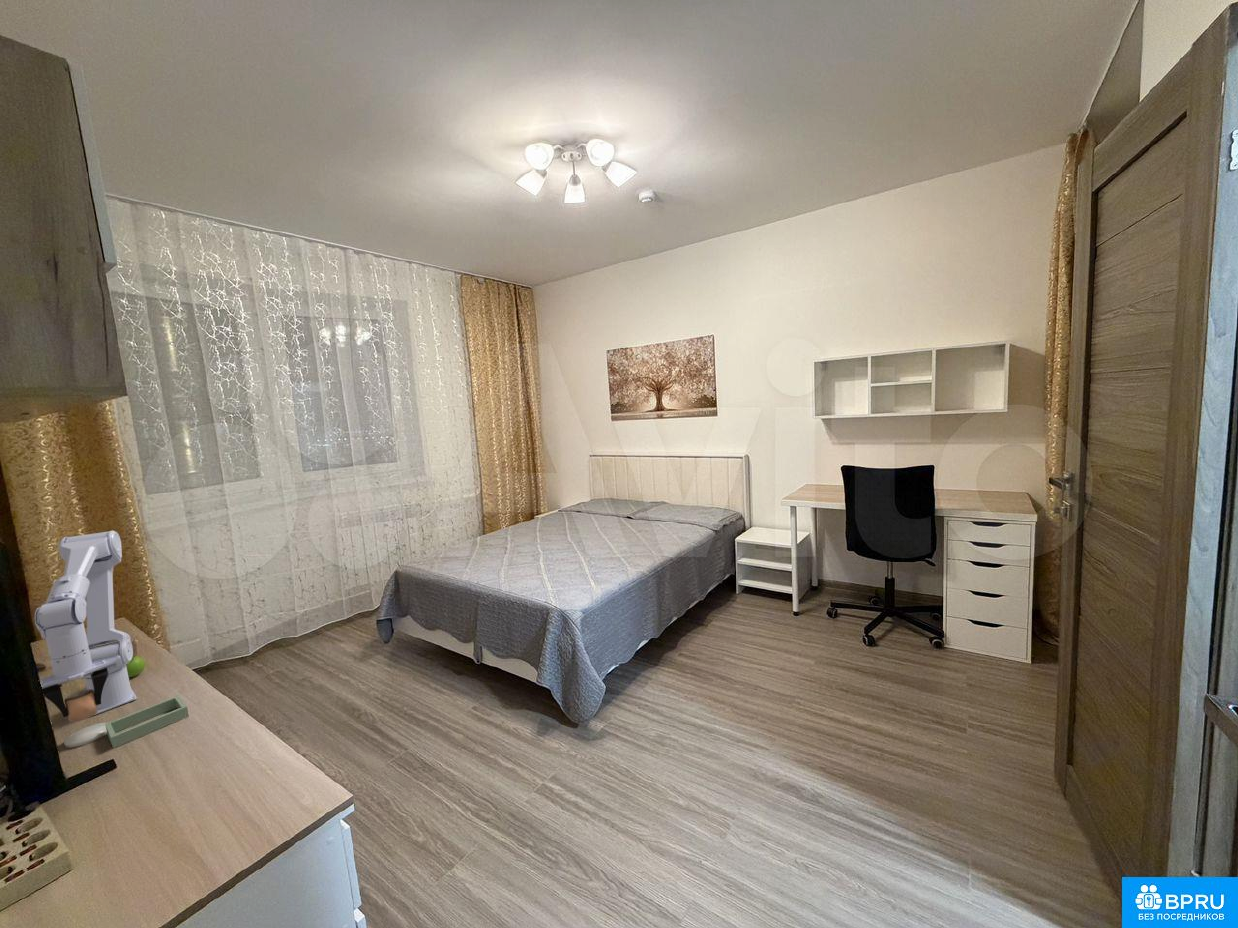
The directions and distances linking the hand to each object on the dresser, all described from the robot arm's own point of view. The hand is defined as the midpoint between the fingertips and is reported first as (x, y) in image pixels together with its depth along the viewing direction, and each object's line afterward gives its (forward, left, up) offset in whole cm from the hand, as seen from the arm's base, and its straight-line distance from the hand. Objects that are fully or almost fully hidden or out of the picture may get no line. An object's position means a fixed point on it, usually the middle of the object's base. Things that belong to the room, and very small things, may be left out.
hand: (82, 709), depth 108 cm
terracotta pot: (0, 0, -2) cm, 2 cm away
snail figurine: (-29, +12, -7) cm, 32 cm away
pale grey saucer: (0, 0, -7) cm, 7 cm away
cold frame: (+7, +9, -7) cm, 13 cm away
